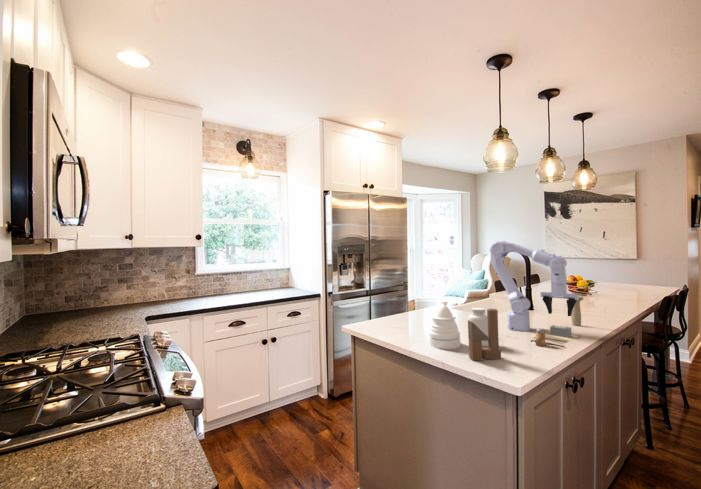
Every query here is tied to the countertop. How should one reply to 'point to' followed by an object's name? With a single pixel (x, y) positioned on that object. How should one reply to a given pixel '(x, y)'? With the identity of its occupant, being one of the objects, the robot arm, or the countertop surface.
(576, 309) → the handle
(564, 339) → the panel
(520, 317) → the robot arm
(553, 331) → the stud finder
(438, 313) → the honey pot
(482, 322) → the pill bottle
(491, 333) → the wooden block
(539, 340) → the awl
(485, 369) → the countertop surface
